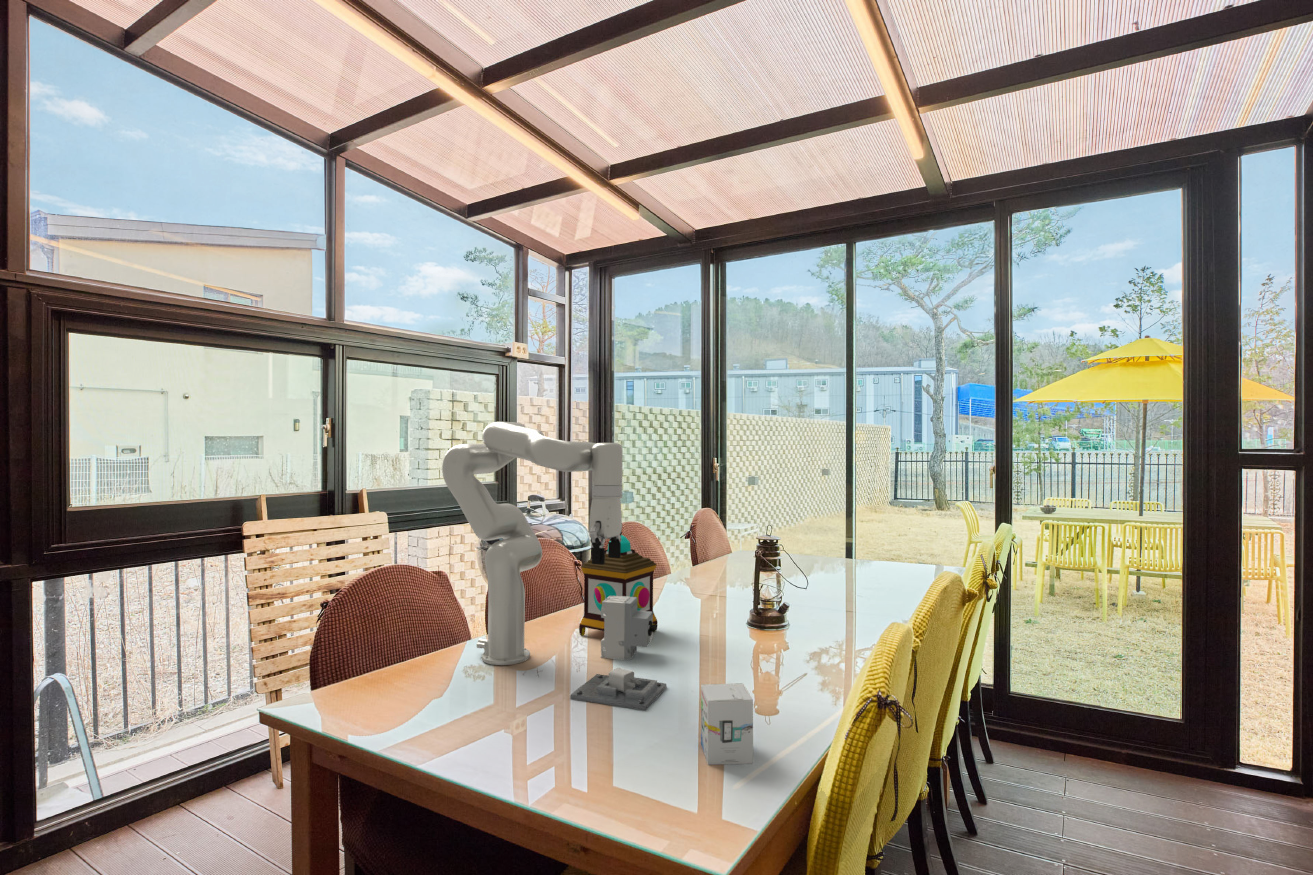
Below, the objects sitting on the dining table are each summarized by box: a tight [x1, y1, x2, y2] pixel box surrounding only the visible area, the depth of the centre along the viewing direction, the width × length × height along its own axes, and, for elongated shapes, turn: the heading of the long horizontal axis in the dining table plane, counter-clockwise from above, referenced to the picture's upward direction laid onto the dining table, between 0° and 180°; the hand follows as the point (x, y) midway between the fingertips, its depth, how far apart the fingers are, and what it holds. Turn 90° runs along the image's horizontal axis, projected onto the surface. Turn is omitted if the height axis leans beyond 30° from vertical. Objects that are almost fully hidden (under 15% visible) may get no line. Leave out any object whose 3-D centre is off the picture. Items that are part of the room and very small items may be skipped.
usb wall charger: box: [608, 667, 641, 692], centre depth 150 cm, size 4×7×4 cm, turn 54°
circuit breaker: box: [600, 596, 658, 661], centre depth 178 cm, size 8×14×15 cm, turn 78°
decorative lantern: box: [578, 534, 658, 636], centre depth 199 cm, size 20×20×30 cm
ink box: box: [700, 682, 754, 766], centre depth 122 cm, size 8×8×12 cm
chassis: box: [570, 673, 667, 711], centre depth 151 cm, size 18×14×2 cm
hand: (606, 560), depth 163 cm, fingers open, 9 cm apart
